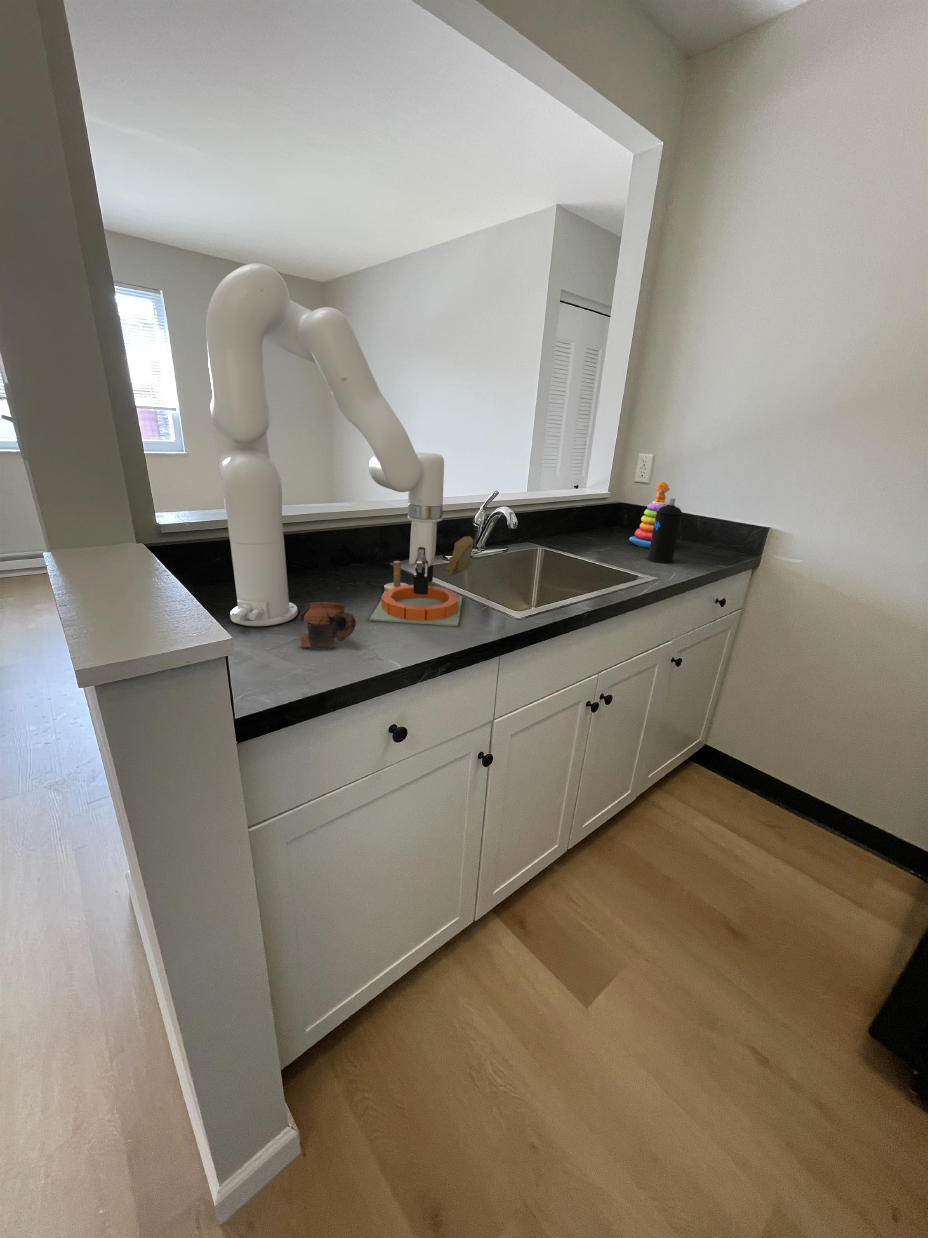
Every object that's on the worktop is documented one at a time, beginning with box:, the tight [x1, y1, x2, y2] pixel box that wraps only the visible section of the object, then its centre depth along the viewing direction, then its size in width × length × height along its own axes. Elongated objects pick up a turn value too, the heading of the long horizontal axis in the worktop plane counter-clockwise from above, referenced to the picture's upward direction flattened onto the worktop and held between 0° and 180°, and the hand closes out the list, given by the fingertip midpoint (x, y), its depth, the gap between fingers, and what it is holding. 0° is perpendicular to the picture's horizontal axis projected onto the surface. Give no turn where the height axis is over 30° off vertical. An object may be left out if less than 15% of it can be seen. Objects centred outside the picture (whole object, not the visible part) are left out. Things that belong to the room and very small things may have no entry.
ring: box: [380, 584, 460, 620], centre depth 108 cm, size 16×16×2 cm
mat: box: [369, 595, 463, 627], centre depth 108 cm, size 18×18×1 cm
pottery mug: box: [297, 601, 357, 649], centre depth 89 cm, size 12×10×8 cm
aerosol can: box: [646, 497, 684, 564], centre depth 160 cm, size 8×8×20 cm
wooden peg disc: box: [384, 560, 409, 592], centre depth 119 cm, size 6×6×7 cm
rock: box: [444, 535, 475, 576], centre depth 137 cm, size 11×9×10 cm
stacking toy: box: [628, 480, 670, 549], centre depth 181 cm, size 14×13×23 cm
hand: (423, 587), depth 114 cm, fingers open, 9 cm apart
